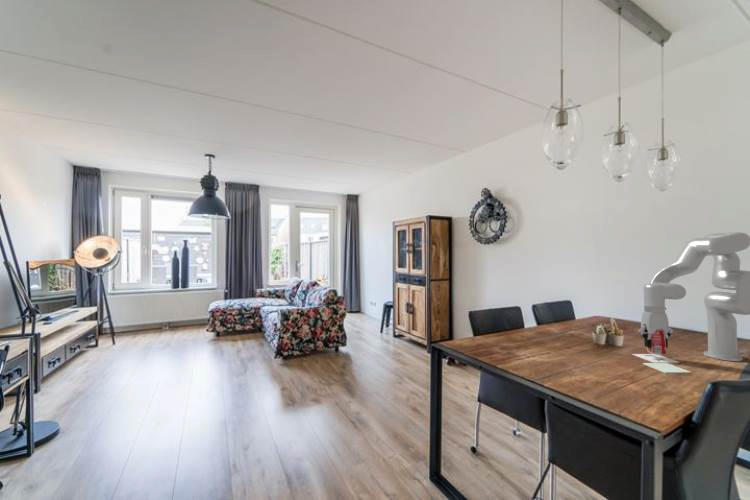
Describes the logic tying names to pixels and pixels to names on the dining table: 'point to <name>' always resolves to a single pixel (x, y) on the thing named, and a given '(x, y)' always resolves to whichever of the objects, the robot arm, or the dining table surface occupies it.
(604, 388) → the dining table surface
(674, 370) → the mat
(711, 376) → the dining table surface
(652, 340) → the soda can
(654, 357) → the tile
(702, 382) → the dining table surface
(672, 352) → the dining table surface
